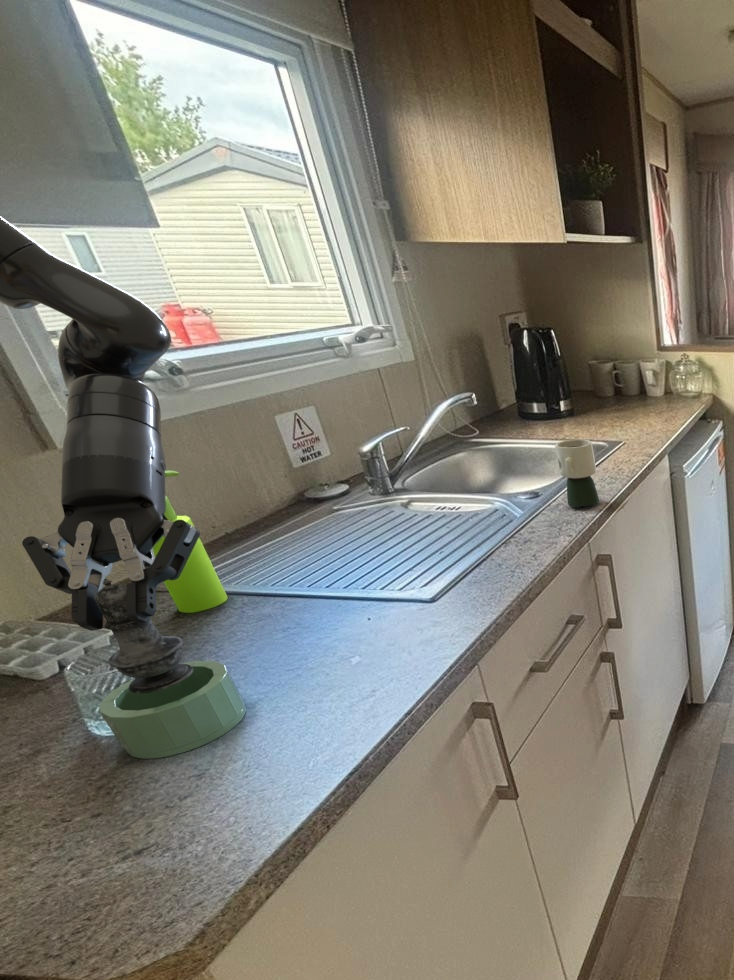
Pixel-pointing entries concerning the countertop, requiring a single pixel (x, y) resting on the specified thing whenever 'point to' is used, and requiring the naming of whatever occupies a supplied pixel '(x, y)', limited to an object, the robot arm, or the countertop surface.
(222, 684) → the holder
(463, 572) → the countertop surface
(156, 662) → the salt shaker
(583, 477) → the character mug
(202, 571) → the soap dispenser
